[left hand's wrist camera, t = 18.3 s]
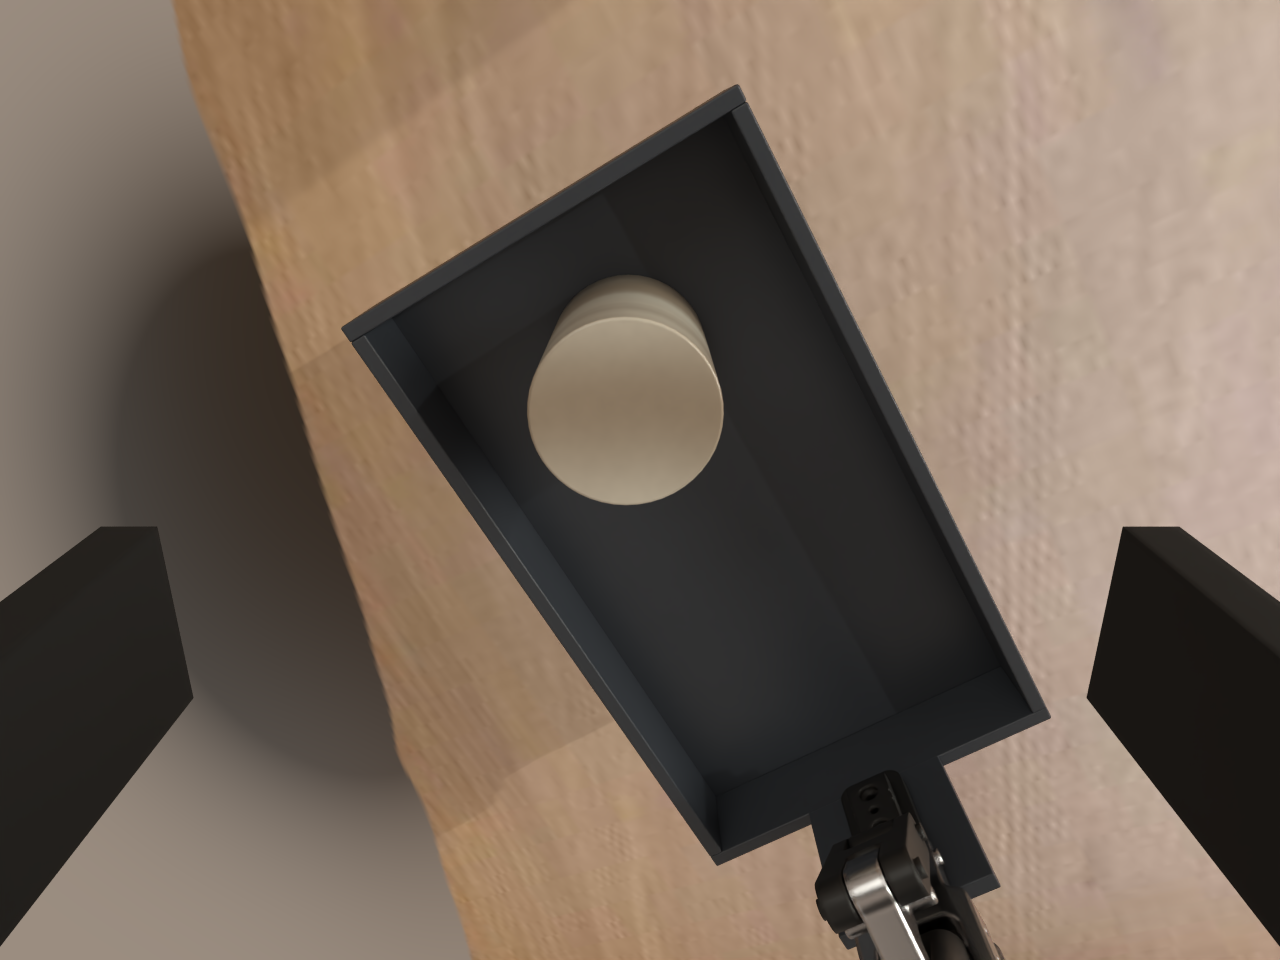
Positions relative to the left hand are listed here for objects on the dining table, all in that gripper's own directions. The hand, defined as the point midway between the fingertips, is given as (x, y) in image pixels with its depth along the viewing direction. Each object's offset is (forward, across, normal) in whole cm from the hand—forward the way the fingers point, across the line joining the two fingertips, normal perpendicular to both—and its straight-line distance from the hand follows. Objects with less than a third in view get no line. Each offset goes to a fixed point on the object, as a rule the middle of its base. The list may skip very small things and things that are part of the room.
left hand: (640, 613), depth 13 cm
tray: (+18, +3, -6) cm, 20 cm away
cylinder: (+18, 0, -1) cm, 18 cm away
